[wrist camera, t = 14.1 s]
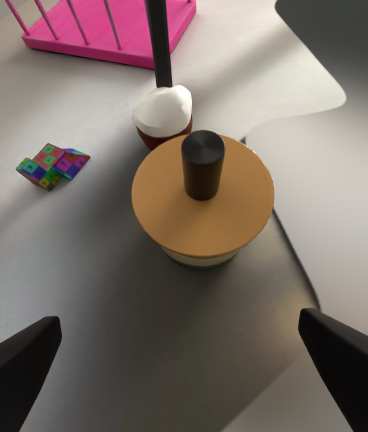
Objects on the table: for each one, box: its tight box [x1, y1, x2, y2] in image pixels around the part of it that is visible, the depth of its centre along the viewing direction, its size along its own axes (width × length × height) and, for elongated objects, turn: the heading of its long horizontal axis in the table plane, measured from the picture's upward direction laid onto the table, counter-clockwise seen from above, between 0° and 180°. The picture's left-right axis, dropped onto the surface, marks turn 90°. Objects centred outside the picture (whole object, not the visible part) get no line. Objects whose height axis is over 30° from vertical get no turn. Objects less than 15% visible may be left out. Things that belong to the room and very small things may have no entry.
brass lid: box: [132, 130, 274, 258], centre depth 14 cm, size 10×10×5 cm
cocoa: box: [132, 0, 192, 151], centre depth 21 cm, size 10×6×12 cm, turn 154°
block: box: [16, 143, 90, 191], centre depth 24 cm, size 6×4×3 cm
